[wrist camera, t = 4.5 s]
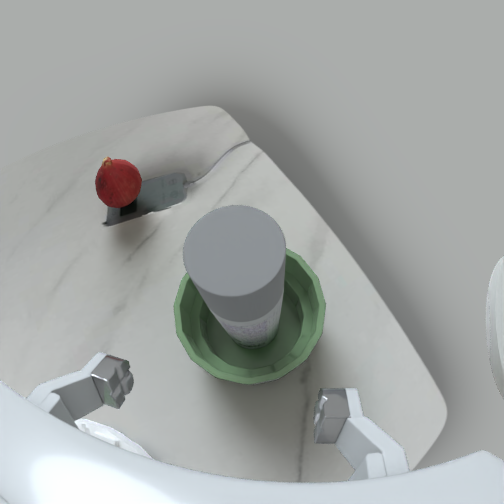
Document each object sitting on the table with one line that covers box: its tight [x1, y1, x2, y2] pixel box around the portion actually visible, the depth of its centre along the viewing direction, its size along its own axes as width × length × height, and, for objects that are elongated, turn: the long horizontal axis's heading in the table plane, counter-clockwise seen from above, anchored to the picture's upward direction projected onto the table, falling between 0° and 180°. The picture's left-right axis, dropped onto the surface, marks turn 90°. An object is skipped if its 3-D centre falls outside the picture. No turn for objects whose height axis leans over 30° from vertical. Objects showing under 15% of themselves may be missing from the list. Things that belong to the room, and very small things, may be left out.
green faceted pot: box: [174, 248, 326, 385], centre depth 22 cm, size 11×11×6 cm
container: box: [183, 205, 286, 349], centre depth 18 cm, size 5×5×15 cm
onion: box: [95, 157, 142, 208], centre depth 30 cm, size 6×6×8 cm
